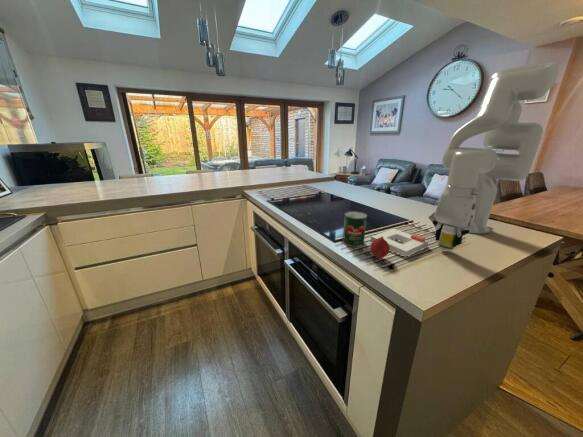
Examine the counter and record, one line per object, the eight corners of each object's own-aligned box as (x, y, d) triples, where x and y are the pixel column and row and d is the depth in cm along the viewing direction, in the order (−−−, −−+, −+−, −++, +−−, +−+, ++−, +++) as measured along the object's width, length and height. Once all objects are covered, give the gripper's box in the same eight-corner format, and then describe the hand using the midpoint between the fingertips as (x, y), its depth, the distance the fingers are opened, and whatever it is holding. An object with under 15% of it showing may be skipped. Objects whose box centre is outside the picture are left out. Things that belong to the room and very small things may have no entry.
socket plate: (392, 234, 96) (394, 226, 94) (427, 247, 85) (429, 238, 83) (370, 242, 88) (371, 234, 87) (405, 258, 77) (406, 248, 76)
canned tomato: (356, 236, 93) (359, 210, 90) (368, 245, 86) (371, 216, 83) (338, 239, 91) (340, 212, 87) (349, 247, 84) (352, 219, 80)
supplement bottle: (456, 251, 79) (462, 228, 76) (440, 249, 80) (446, 227, 77) (450, 244, 83) (455, 222, 80) (435, 243, 84) (440, 221, 81)
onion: (365, 255, 79) (368, 234, 76) (378, 252, 81) (381, 231, 78) (377, 264, 74) (381, 241, 71) (391, 260, 76) (395, 238, 73)
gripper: (497, 195, 69) (480, 249, 76) (437, 184, 83) (427, 231, 89) (486, 199, 66) (470, 256, 72) (426, 188, 79) (416, 236, 85)
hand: (446, 242), depth 81 cm, fingers closed on supplement bottle, 4 cm apart
